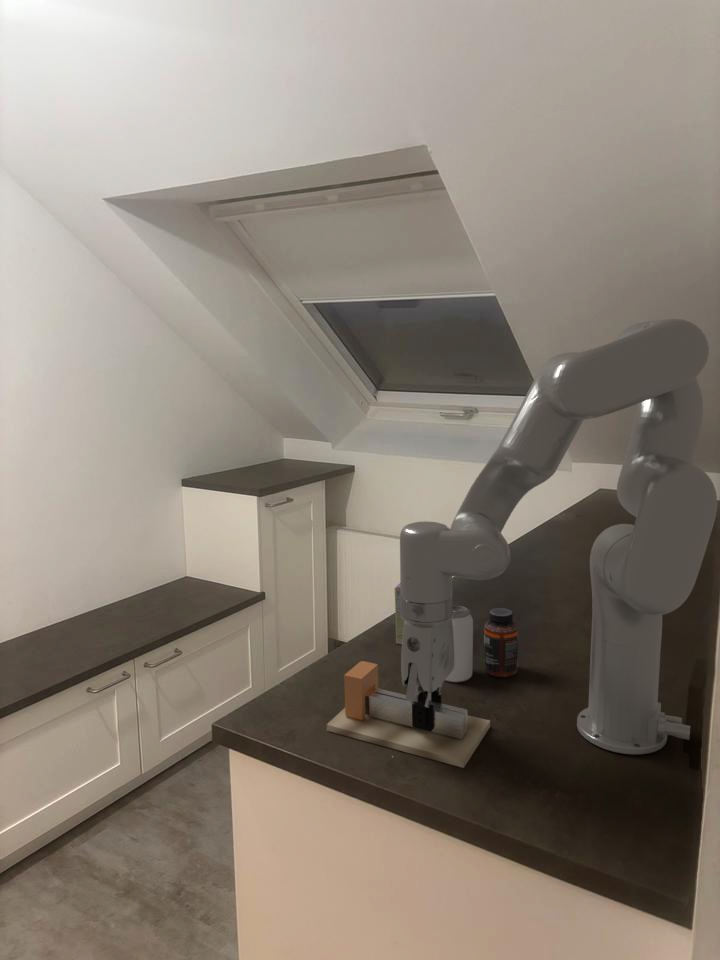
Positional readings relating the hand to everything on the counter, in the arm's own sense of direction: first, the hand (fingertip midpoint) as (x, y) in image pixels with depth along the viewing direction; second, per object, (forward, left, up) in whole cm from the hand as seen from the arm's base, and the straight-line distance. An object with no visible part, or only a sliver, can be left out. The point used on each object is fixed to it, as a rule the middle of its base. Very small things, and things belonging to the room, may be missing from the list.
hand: (426, 722), depth 103 cm
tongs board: (+3, 0, -2) cm, 4 cm away
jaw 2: (+2, -1, -1) cm, 2 cm away
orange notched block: (+11, 0, -1) cm, 11 cm away
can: (+3, -20, -2) cm, 20 cm away
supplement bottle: (-4, -25, -2) cm, 25 cm away
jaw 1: (+2, +1, -1) cm, 2 cm away
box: (+16, -33, -2) cm, 37 cm away
